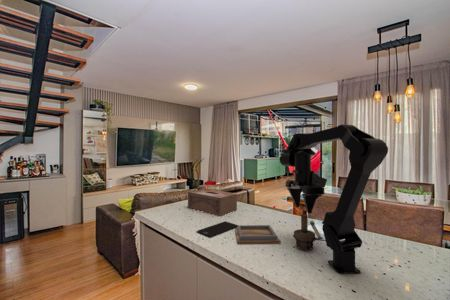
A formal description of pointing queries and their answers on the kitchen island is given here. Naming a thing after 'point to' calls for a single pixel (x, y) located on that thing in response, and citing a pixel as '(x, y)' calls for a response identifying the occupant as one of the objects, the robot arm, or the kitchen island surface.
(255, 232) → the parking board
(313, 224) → the claw hammer
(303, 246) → the industrial component
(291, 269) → the kitchen island surface
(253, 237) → the locating frame
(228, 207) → the tissue box cover
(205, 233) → the cell phone
